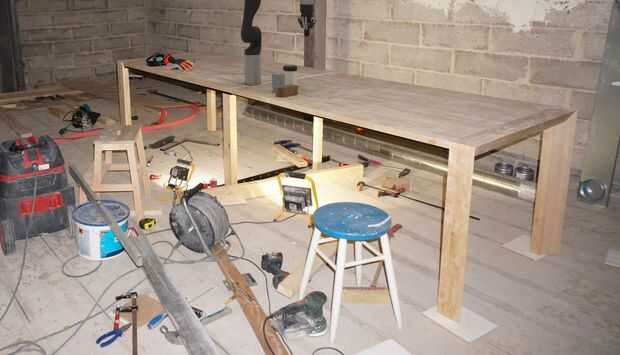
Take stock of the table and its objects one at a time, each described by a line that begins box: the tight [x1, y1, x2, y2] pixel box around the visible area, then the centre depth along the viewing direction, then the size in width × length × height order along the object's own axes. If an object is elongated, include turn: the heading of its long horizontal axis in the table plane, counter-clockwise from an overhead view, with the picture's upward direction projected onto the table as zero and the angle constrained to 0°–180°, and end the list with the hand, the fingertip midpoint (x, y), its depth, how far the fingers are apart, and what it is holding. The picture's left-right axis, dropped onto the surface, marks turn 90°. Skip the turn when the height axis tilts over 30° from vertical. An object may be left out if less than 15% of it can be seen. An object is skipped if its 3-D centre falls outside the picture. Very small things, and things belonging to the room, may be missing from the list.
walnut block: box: [274, 84, 299, 98], centre depth 296 cm, size 5×5×12 cm
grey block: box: [271, 72, 285, 93], centre depth 305 cm, size 5×5×10 cm
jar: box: [282, 64, 299, 86], centre depth 319 cm, size 9×8×12 cm
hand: (306, 36), depth 303 cm, fingers closed
